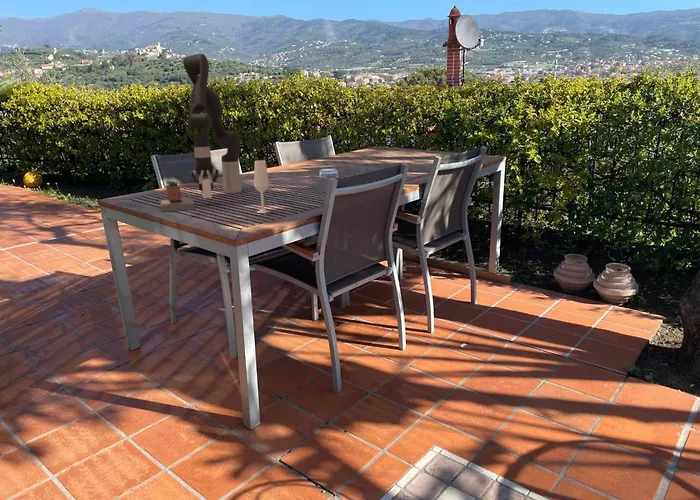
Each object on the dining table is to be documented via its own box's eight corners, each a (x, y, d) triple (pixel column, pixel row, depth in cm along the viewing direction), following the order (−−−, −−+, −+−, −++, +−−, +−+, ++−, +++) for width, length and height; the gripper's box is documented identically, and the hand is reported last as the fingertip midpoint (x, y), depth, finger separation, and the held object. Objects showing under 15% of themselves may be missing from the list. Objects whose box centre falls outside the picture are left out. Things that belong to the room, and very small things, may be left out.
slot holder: (191, 203, 257) (190, 196, 256) (194, 209, 244) (194, 202, 243) (160, 205, 251) (159, 199, 250) (161, 212, 238) (161, 205, 237)
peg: (210, 195, 255) (208, 178, 253) (211, 197, 252) (210, 179, 249) (202, 196, 254) (200, 178, 251) (203, 198, 250) (201, 180, 248)
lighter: (182, 200, 264) (180, 181, 261) (178, 201, 261) (176, 182, 258) (169, 199, 266) (167, 180, 263) (165, 200, 263) (163, 181, 260)
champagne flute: (272, 211, 239) (269, 160, 231) (267, 214, 232) (264, 162, 225) (259, 210, 240) (256, 159, 233) (253, 214, 234) (250, 161, 227)
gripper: (216, 154, 252) (219, 188, 258) (186, 155, 247) (190, 190, 253) (219, 155, 246) (222, 190, 251) (188, 157, 241) (192, 193, 246)
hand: (206, 190), depth 252 cm, fingers closed on peg, 4 cm apart
